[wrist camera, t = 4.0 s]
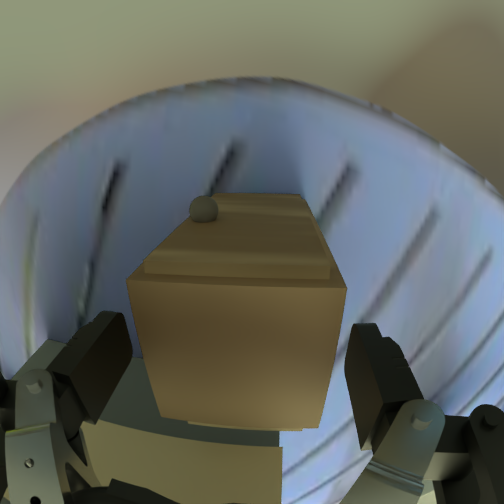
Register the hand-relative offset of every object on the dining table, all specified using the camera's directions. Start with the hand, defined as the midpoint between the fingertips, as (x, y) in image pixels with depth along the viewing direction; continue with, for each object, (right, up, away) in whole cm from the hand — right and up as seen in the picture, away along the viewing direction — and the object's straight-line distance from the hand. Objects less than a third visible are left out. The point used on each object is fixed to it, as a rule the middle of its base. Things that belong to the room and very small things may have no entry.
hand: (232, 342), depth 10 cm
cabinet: (+1, +4, +10) cm, 11 cm away
